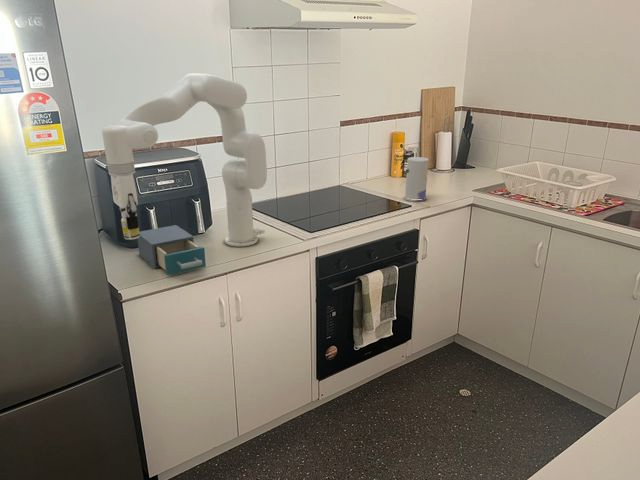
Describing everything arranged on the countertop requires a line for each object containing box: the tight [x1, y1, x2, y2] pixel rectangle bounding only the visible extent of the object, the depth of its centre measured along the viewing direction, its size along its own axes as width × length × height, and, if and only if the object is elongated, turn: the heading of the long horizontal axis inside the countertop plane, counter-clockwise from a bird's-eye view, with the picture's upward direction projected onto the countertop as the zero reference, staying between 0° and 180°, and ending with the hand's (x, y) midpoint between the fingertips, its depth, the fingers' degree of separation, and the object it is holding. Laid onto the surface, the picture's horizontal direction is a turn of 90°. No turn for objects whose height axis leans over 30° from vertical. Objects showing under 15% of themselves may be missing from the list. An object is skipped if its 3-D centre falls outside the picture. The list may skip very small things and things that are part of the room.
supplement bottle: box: [120, 210, 140, 241], centre depth 171 cm, size 5×5×8 cm
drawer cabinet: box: [137, 224, 195, 270], centre depth 196 cm, size 16×15×9 cm
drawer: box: [155, 240, 207, 277], centre depth 186 cm, size 20×14×7 cm
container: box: [404, 156, 430, 203], centre depth 268 cm, size 10×10×20 cm
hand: (130, 225), depth 171 cm, fingers closed on supplement bottle, 4 cm apart
